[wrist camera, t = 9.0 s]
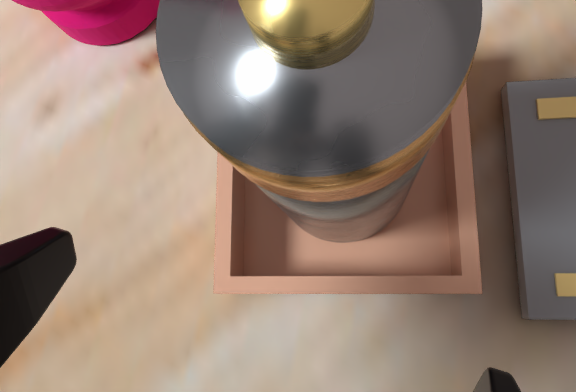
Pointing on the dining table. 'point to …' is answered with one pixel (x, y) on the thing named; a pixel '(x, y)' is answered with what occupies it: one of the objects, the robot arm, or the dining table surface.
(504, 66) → the dining table surface
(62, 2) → the pepper mill
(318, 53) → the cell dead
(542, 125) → the grey base plate
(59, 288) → the robot arm
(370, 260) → the pink open tray
